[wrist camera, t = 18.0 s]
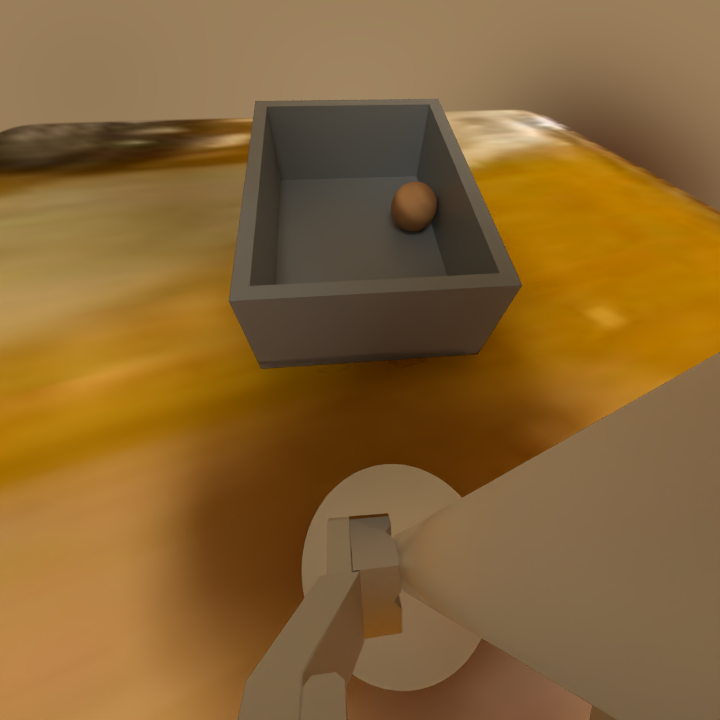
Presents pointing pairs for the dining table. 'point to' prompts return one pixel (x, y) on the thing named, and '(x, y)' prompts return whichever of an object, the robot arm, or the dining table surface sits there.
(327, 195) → the tray
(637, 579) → the pedestal dish
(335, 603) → the robot arm
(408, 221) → the ball
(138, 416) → the dining table surface
